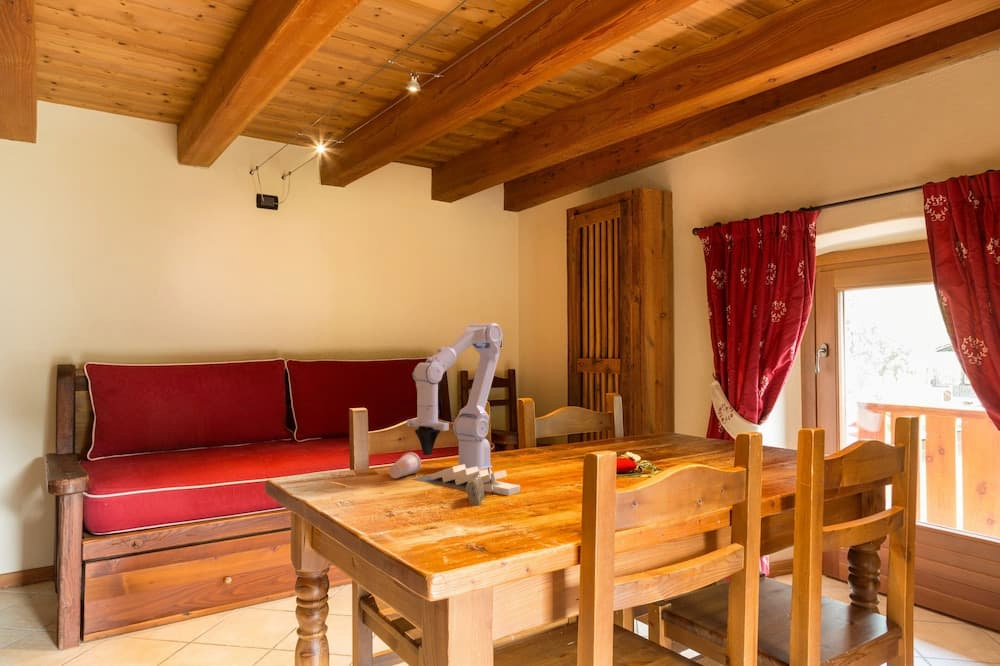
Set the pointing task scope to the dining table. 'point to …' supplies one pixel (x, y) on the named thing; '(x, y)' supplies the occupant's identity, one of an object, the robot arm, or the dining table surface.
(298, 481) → the dining table surface
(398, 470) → the smoothie
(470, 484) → the cuneiform tablet
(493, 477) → the domino
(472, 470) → the domino
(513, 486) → the domino
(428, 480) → the runner mat
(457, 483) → the domino
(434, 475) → the domino
